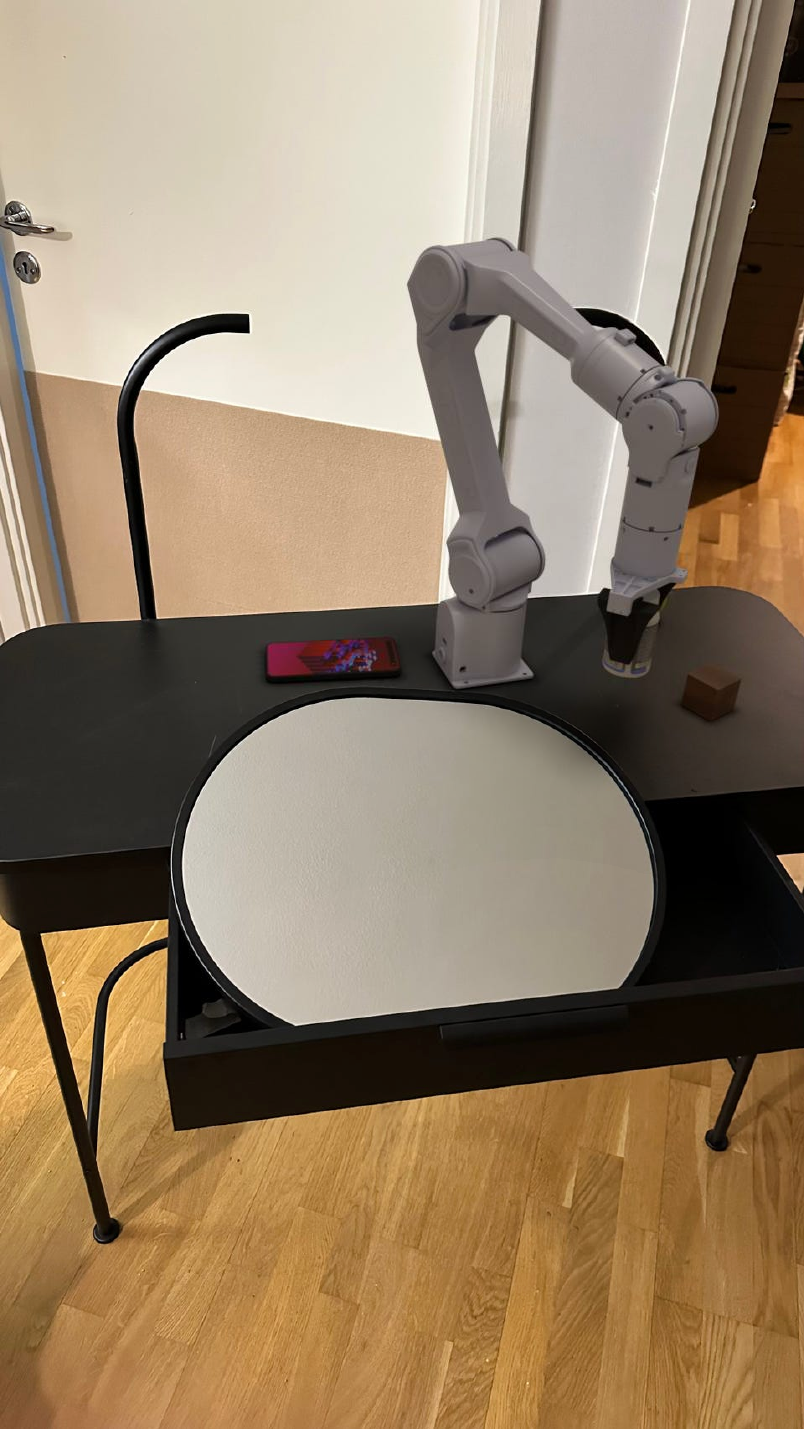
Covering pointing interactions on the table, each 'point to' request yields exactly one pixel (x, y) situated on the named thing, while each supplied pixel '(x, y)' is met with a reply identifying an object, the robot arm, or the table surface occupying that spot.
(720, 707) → the walnut block
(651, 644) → the pill bottle
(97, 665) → the table surface
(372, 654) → the smartphone
